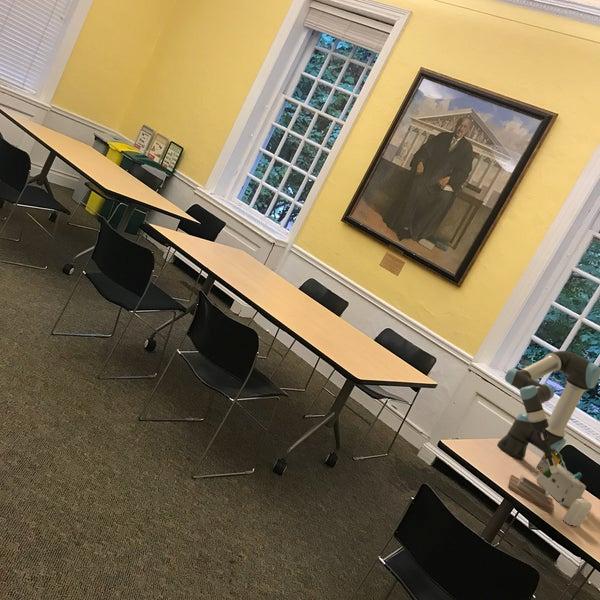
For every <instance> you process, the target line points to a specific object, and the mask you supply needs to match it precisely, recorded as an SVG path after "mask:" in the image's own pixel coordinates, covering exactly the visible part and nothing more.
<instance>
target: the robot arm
mask: <svg viewBox="0 0 600 600" xmlns="http://www.w3.org/2000/svg"><path fill="white" fill-rule="evenodd" d="M554 372H560V373H562V374H563V375H565V376H566V378H565V381H566V385H565V387H564V388H563V391H562V392H561V395H560V397H559V399H558V400H557V403H556V404H555V406H554V409H553V410H552V412H551V415H550V416H549V418H548V420H547V415H546V413H545V410H544V409H545V408H544V407H543V405H542V404H544V403H546V402H548V401H550V400H551V399H553V398H554V395H555V391H554V388H553V387H552V385H550V384H548V383H544V384H543V383H540V382H538V381H536V380H539V379H540V378H542V377H544V376H547V375H549V374H550V373H554ZM504 380H505V382H507V383H508V384H509V385H510V386H512V387H514V388H516V389H517V390H519V394H520V398H521V401H522V404H523V407H524V409H525V412H526V413H525V412H520V413H518V415H517V417H516V418H515V420H514V421H513V423H512V425H511V427H510V428H509V430H508V432H507V434H505V436H503V437H502V438H501V439H499V441H498V442H497V447H498V448H499V449H500V450H501V451H502V452H504V453H505V454H507V455H508V456H510V457H512V458H514V459H515V460H516V459H517V460H519V461H524V459H525V457H526V454H527V453H526V452H527V448H528V445H529V443H530V444H531V445H532V446H534V448H537V449H539V450H540V451H541V452H543V454H544V453H545V459H547V462H548V465H549V468H550V471H551V473H556V472H557V467H556V465H555V462H554V459H553V457H552V455H551V451H552V449H553V448H554V449H555V450H556V451H557V452H558V451H559V452H560V451H561V450H562V449H563V448H564V446H565V445H566V442H567V440H566V439H565V438H564V437H565V435H566V433H565V431H564V430H565V428H566V427H567V426H568V423H569V421H570V420H571V417H572V415H573V413H574V412H575V410H576V408H577V406H578V404H579V401H580V400H581V398H582V396H583V394H584V392H588V391H589V390H591V389H594V388H595V387H596V385H597V384H598V382H599V380H600V366H599V365H596V364H595V363H593V362H592V361H590V360H588V359H586V358H584V357H582V356H581V355H580V356H579V355H578V354H576V353H574V352H572V351H567V350H559V351H557V350H556V351H552V352H550V353H547V354H546V355H545V356H544V357H543V358H542V359H540V360H538V361H536V362H534V363H532V364H530V365H528V366H526V367H524V368H522V369H519V370H518V369H516V368H513V367H512V368H510V369H509V370H507V372H506V374H505V377H504ZM557 449H558V450H557ZM559 452H558V453H559ZM558 453H556V452H555V454H556V455H558Z"/></svg>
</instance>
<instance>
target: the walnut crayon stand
mask: <svg viewBox="0 0 600 600" xmlns="http://www.w3.org/2000/svg"><path fill="white" fill-rule="evenodd" d="M507 485H508V486H507V489H509V490H511V491H512V492H514V493H515V494H517V495H519V496H521V497H522V498H524V499H525V500H528V502H531V503H532V504H534V505H536V506H537V507H538V508H541V510H544V511H546V512H547V513H548V514H550V515H552V514H553V512H554V506H553V503H554V501H553V499H554V498H553V497H550V496H549V495H550V494H549V492H548V491H547V490H545V489H544V488H543V487H542V486H541V485H539V484H538V483H537V484H536V483H535V482H533V481H531V480H530V479H528V478H527V477H525V476H523V475H521V476H520V478H519V477H517V476H516V475H513V474H511V475H510V477H509V479H508V484H507Z"/></svg>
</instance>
